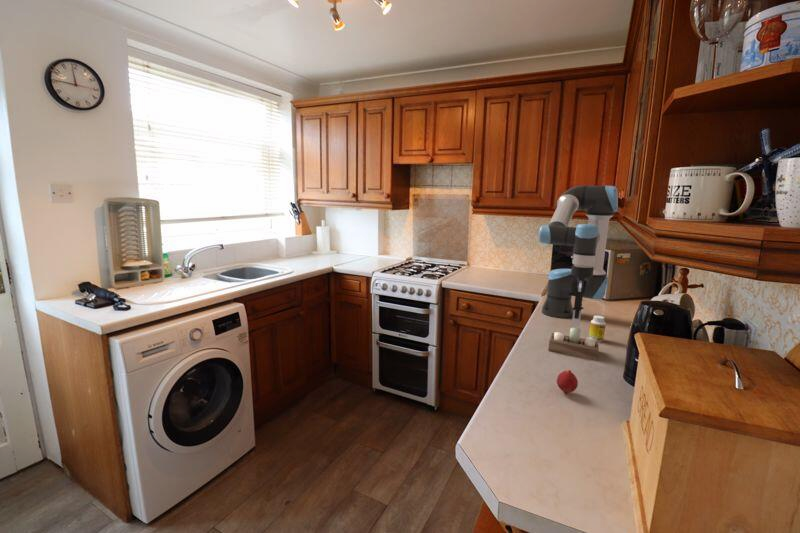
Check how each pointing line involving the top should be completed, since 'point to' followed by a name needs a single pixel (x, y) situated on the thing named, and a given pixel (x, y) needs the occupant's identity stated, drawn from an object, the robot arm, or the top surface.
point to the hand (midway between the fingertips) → (575, 325)
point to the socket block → (574, 348)
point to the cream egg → (559, 336)
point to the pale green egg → (574, 335)
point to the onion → (567, 381)
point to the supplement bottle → (597, 328)
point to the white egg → (590, 341)
